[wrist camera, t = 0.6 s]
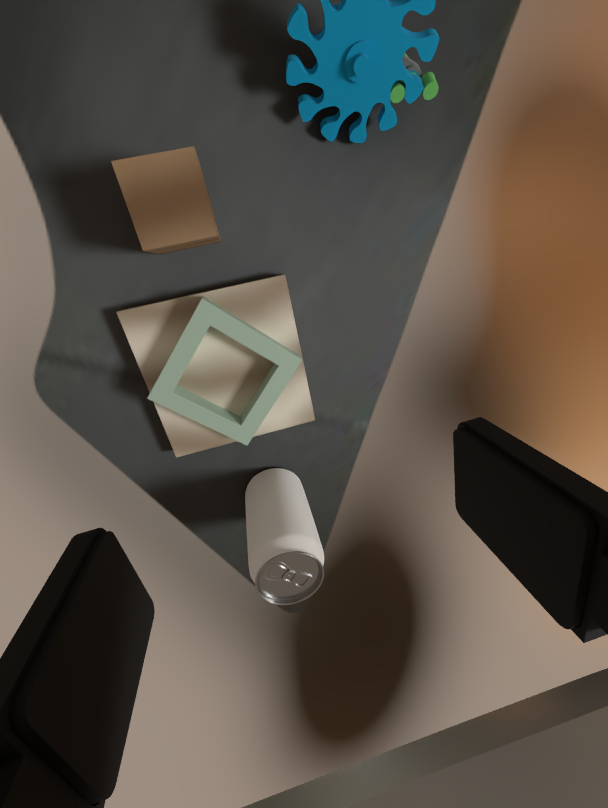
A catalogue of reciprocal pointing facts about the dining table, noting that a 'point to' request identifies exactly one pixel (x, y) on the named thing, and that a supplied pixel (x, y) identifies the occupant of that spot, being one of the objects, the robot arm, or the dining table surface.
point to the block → (167, 200)
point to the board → (220, 358)
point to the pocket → (205, 410)
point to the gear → (362, 61)
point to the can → (282, 538)
